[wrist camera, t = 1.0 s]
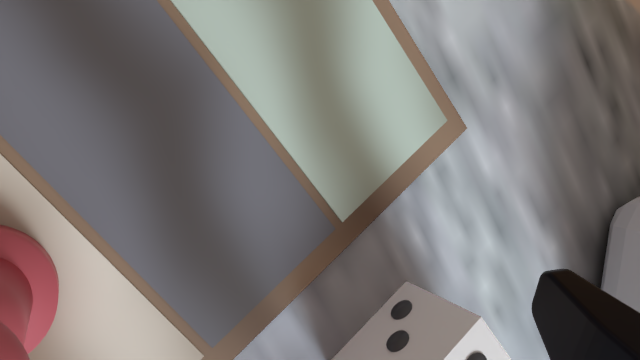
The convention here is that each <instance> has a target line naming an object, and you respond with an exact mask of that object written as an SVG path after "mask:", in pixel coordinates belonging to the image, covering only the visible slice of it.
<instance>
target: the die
mask: <svg viewBox="0 0 640 360" xmlns="http://www.w3.org/2000/svg"><path fill="white" fill-rule="evenodd" d="M332 360H511V358H510V357H509V355H508V354H507V352H506V351H505V350H504V348H503V347H502V345H501V344H500V343H499V341H498V340H497V338H496V337H495V336H494V334H493V333H492V331H491V330H490V328H489V327H488V326H487V324H486V323H485V321H484V320H483V319H482V317H481V316H478V315H476V314H474V313H472V312H470V311H468V310H466V309H464V308H462V307H460V306H458V305H456V304H453V303H451V302H449V301H447V300H445V299H443V298H441V297H439V296H437V295H435V294H433V293H431V292H429V291H426V290H424V289H422V288H420V287H418V286H416V285H414V284H412V283H410V282H408V281H406V282H405V283H404V284H403V285H402V286H401V287H400V288H399V289H398V290H397V291H396V292H395V293H394V294H393V295H392V297H391V298H390V299H389V300H388V301H387V302H386V303H385V304H384V305H383V306H382V307H381V308H380V309H379V310H378V311H377V312H376V313H375V314H374V315H373V316H372V318H371V319H370V320H369V321H368V322H367V323H366V324H365V325H364V326H363V327H362V328H361V329H360V330H359V331H358V332H357V333H356V334H355V335H354V336H353V338H352V339H351V340H350V341H349V342H348V343H347V344H346V345H345V346H344V347H343V348H342V349H341V350H340V351H339V352H338V353H337V354H336V355H335V356H334V357H333V359H332Z"/></svg>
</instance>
